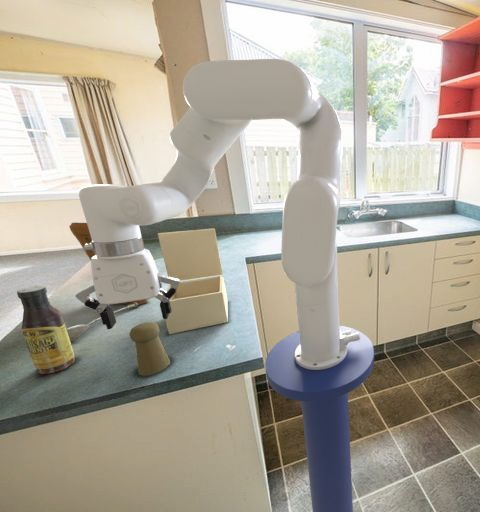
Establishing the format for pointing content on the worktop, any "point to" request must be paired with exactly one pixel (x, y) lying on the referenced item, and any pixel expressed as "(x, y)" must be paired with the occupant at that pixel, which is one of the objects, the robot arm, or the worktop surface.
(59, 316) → the sauce bottle
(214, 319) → the cream open box
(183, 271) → the lid
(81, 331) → the soupspoon
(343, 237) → the worktop surface
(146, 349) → the cork
